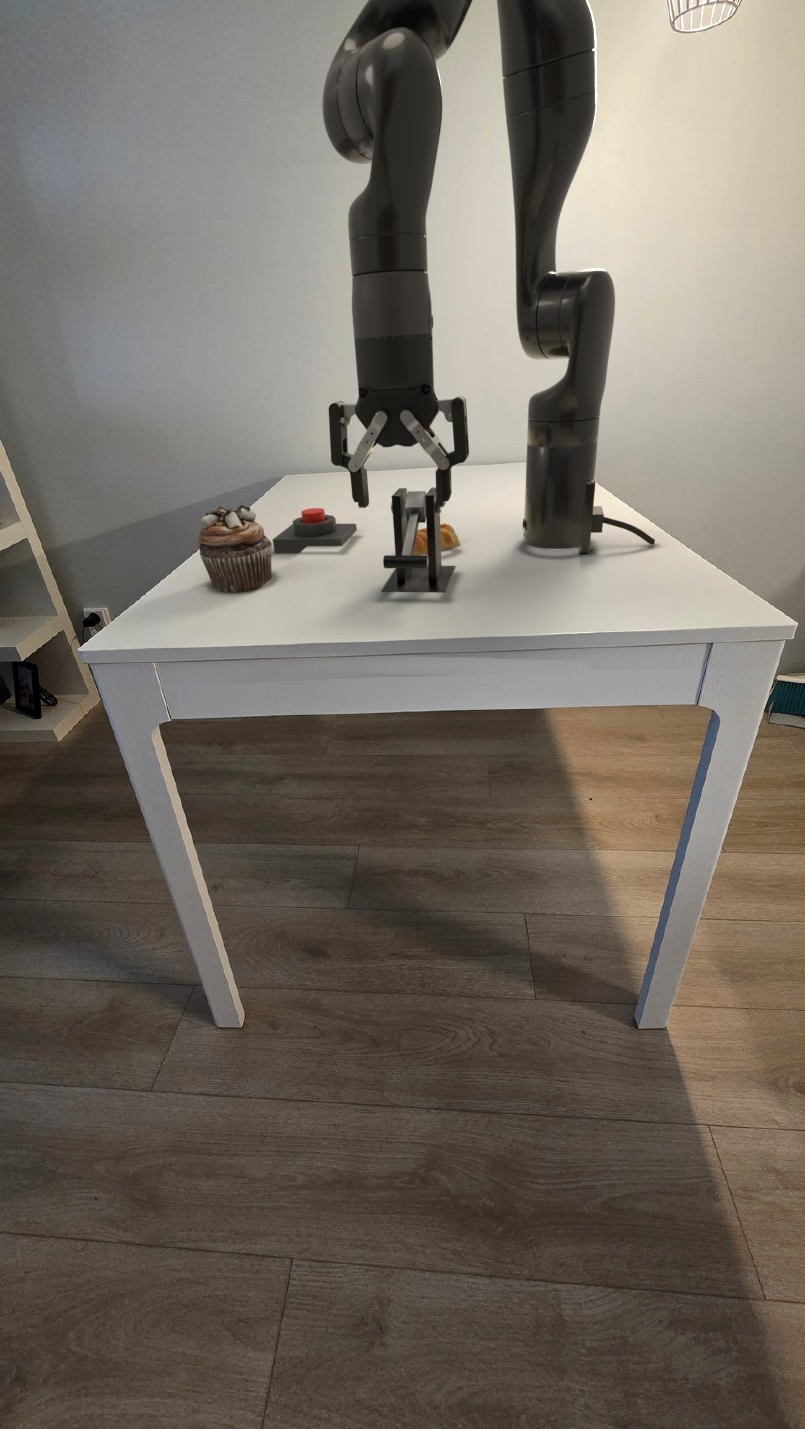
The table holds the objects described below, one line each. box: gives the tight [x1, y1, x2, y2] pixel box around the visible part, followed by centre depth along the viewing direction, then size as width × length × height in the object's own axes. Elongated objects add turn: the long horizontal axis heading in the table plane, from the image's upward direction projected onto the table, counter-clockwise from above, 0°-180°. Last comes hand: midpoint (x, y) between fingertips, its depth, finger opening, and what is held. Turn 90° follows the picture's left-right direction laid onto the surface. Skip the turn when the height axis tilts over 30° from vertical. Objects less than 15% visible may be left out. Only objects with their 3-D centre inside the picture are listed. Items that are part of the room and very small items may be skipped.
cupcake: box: [197, 504, 273, 593], centre depth 86 cm, size 10×10×10 cm
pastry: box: [413, 522, 461, 555], centre depth 93 cm, size 9×7×4 cm
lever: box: [382, 490, 429, 569], centre depth 75 cm, size 11×5×2 cm, turn 170°
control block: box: [272, 514, 358, 554], centre depth 101 cm, size 11×9×4 cm
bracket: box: [380, 486, 457, 593], centre depth 79 cm, size 10×8×12 cm
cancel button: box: [300, 507, 326, 523], centre depth 100 cm, size 4×4×2 cm
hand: (402, 506), depth 69 cm, fingers open, 8 cm apart
